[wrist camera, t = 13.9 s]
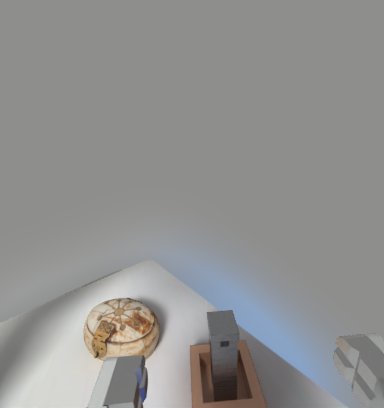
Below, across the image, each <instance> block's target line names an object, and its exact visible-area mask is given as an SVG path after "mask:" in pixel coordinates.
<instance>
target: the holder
mask: <svg viewBox="0 0 384 408" xmlns="http://www.w3.org/2000/svg"><path fill="white" fill-rule="evenodd" d="M190 361H191V387H192V408H267V406H266V403H265V400H264V397H263V394H262V391H261V388H260V384H259V381H258V378H257V375H256V372H255V369H254V366H253V363H252V359H251V356H250V353H249V350H248V347H247V344H246V341H238V353H237V399H234V400H224V401H214V396H213V383H212V380H211V365H210V344H202V345H191V346H190Z"/></svg>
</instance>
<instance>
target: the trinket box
mask: <svg viewBox="0 0 384 408" xmlns="http://www.w3.org/2000/svg"><path fill="white" fill-rule="evenodd" d="M158 339H159V323H158V320H157V317H156V315H155V314H154V312H153V311H152V310H151V309H150V308H149V307H147V306H146V305H144V304H143V303H142V302H139V301H136V300H133V299H130V298H127V299H125V298H119V299H113V300H109V301H105V302H103V303H101V304H99V305H97V306H96V307H94V308H93V309H92V311H91V312H90V314H89V315H88V317H87V319H86V322H85V325H84V341H85V344H86V346H87V348H88V350H89V351H90V353H91V354H92V355H94V358H97V359H100V360H103V361H105V359H106V358H108V357H121V356H136V355H144V357H145V360H147V359H148V358H149V357H150V356H151V355H152V354H153V352H154V350H155V347H156V344H157V342H158Z"/></svg>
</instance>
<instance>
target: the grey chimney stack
mask: <svg viewBox="0 0 384 408" xmlns="http://www.w3.org/2000/svg"><path fill="white" fill-rule="evenodd" d="M207 320H208V327H209V343H210V365H211V380H212V383H213V396H214V401H224V400H234V399H237V353H238V340H239V331H238V328H237V324H236V321H235V318H234V314H233V311H232V310H229V311H218V312H207Z"/></svg>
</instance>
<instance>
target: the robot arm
mask: <svg viewBox="0 0 384 408" xmlns="http://www.w3.org/2000/svg"><path fill="white" fill-rule="evenodd" d="M336 344H337V345H338V348H337V349H336V350H335V351H334V357H333V358H334V362H335V365H336V367H337V369H338V372H339V373H340V374H341V376H342V378H343V379H344V380H346V381H347V382H349V383H350V384H351V385H352V392H353V394H354V395H355V397H356V398H357V399H358V401H359V402H360V404H361V405H362V407H363V408H384V340H383V339H382V338H381V337H380V336H379V335H377V334H375V333H372V334H363V335H361V334H358V335H349V336H340V337H338V338H337V340H336ZM144 366H145V357H144V355H136V356H121V357H108V358H106V359H105V361H104V362H103V365H102V368H101V371H100V373H99V376H98V379H97V382H96V385H95V387H94V390H93V393H92V396H91V398H90V401H89V404H88V407H87V408H143V404H142V403H143V402H144V400H145V399H146V395H147V384H148V374H147V368H145V367H144Z"/></svg>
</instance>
